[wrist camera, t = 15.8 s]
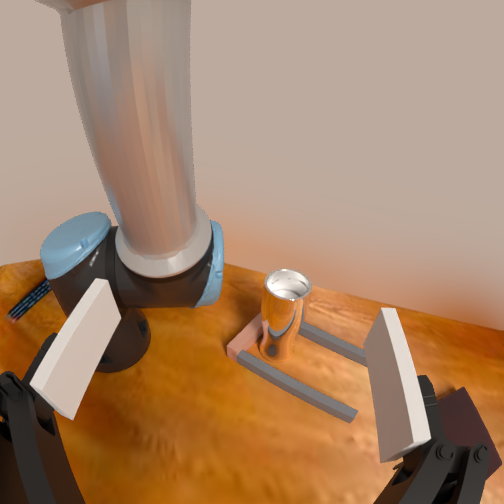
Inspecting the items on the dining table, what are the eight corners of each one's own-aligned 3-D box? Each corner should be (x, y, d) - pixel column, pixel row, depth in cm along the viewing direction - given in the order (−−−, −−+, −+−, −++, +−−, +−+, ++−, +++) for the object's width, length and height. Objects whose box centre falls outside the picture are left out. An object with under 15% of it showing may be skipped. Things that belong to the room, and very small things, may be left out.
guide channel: (227, 355, 45) (226, 345, 43) (269, 312, 54) (270, 301, 52) (349, 423, 34) (356, 415, 33) (377, 364, 43) (383, 354, 41)
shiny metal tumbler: (261, 367, 43) (269, 304, 35) (252, 335, 49) (257, 269, 40) (301, 360, 44) (321, 297, 36) (290, 330, 50) (303, 265, 41)
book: (456, 393, 36) (466, 383, 34) (493, 468, 20) (505, 462, 19) (409, 418, 34) (419, 409, 32) (447, 507, 18) (459, 503, 17)
